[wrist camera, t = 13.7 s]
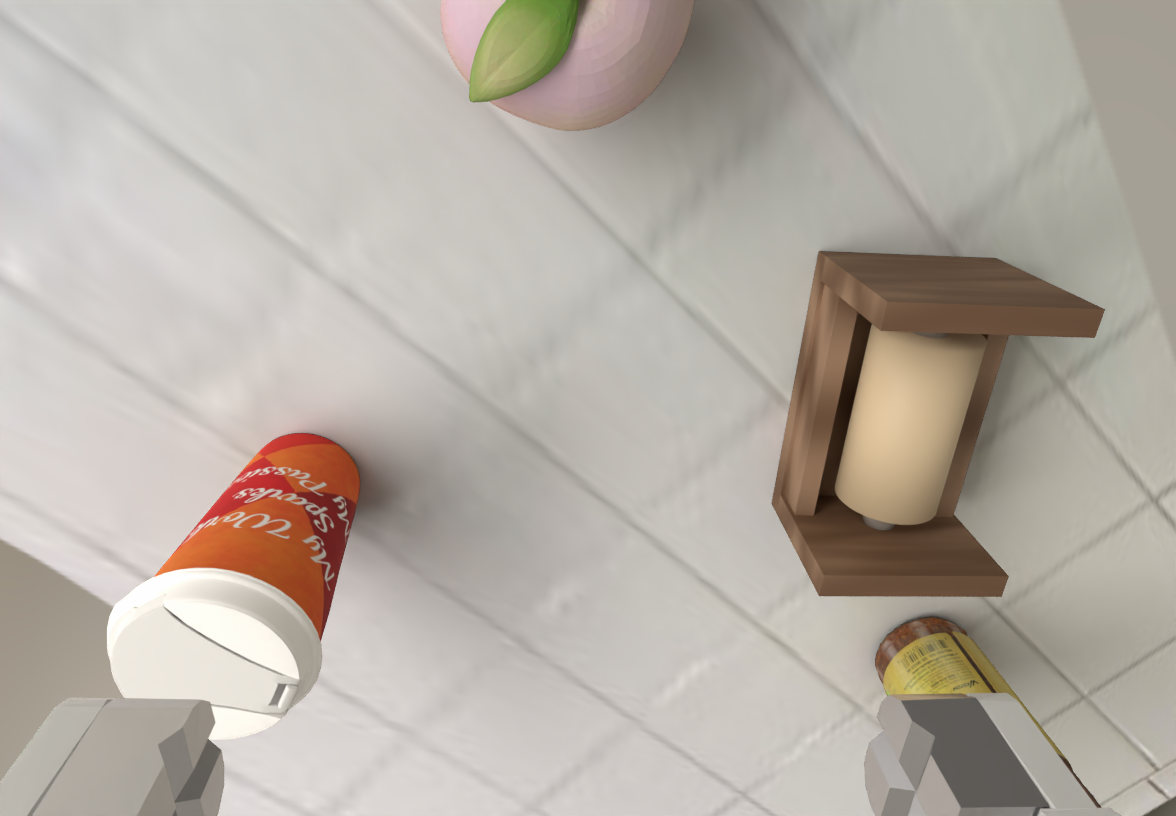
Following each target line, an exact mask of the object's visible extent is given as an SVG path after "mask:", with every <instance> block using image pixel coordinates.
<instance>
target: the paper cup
mask: <svg viewBox="0 0 1176 816" xmlns="http://www.w3.org/2000/svg"><path fill="white" fill-rule="evenodd" d="M359 491H360V476H359V472H358V469H357V466H356V464H355V463H354V461H353V459H352V458H351V457H350V455H349V454H348V453H347V452H346V451H345V450H344V449H343V448H342V447H340V446H339V445H338V444H336V443H334V442H333V441H331V440H329V439H327V438H324V437H321V436H318V435H314V434H308V433H294V434H288V435H284V436H281V437H279V438H276V439H275V440H273V441H271V442H270V443H268V444H267V445H266V446H265V447H264V448H263V449H262V450H261V451H260V452H259V453H258V454H257V455H256V456H255V457H254V458H253V459H252V460H251V461H250V462H249V464H248V465H247V466H246V467H245V468H244V469H243V471H242V472H241V473H240V474H239V475H238V476H237V478H236V479H235V480H234V481H233V482H232V484H231V485H230V486H229V487H228V488H227V490H226V491H225V492H224V493H223V494H222V495H221V497H220V498H219V499H218V500H217V501H216V503H215V504H214V505H213V506H212V507H211V509H210V510H209V511H208V512H207V513H206V515H205V516H204V517H203V518H202V519H201V521H200V522H199V523H198V524H197V525H196V527H195V528H194V529H193V530H192V532H191V533H190V534H189V535H188V536H187V538H186V539H185V540H184V541H183V542H182V544H181V545H180V546H179V547H178V548H177V550H176V551H175V552H174V553H173V554H172V556H171V557H170V558H169V559H168V561H167V562H166V563H165V564H164V565H163V567H162V568H161V569H160V570H159V571H158V573H157V574H156V575H155V576H154V577H153V578H151V579H149V580H147V581H145V582H144V583H142V584H141V585H139V586H137V587H136V588H135V589H134V590H133V591H132V592H131V593H129V594H128V595H127V596H126V597H125V598H123V599H122V600H121V601H119V602H118V603H117V604H116V605H115V606H114V608H113V611H112V613H111V615H110V617H109V623H108V627H107V641H108V642H107V651H108V655H109V658H110V661H111V671H112V674H113V678H114V681H115V682H116V684H117V686H118V688H119V690H120V692H121V693H122V695H123V696H124V698H146V699H198V700H205V701H209V702H210V703H211V707H212V711H213V715H214V718H215V722H216V723H215V725H214V727H213V729H212V731H211V734H210V736H209V738H208V739H233V738H240V737H244V736H249V735H252V734H255V733H258V732H260V731H263V730H265V729H267V728H268V727H270V726H272V725H274V724H275V723H277V722H278V721H279V720H281V719H282V718H283V717H284V716H285V715H286V714H287V712H288V710H289V709H290V708H292V707H293V706H294V705H296V704H297V703H298V702H299V701H301V700H302V699H303V698H304V697H305V696H306V695H307V694H308V693H309V691H310V690H311V689H312V687H313V685H314V684H315V682H316V681H317V678H318V675H319V672H320V669H321V663H322V648H321V638H322V635H323V632H324V628H325V625H326V622H327V618H328V615H329V611H330V607H331V603H332V599H333V595H334V591H335V587H336V583H337V578H338V574H339V570H340V566H341V563H342V559H343V555H344V551H345V548H346V544H347V540H348V537H349V533H350V529H351V525H352V521H353V518H354V514H355V510H356V505H357V501H358V496H359Z"/></svg>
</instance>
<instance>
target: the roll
mask: <svg viewBox="0 0 1176 816" xmlns="http://www.w3.org/2000/svg"><path fill="white" fill-rule="evenodd" d="M986 345H987V340H986V338H985V337H984V336H983V335H982V334H962V333H931V332H899V331H880V330H879V329H878V328H877V327H875V326H874V325H873V324H872V325H871V329H870V334H869V338H868V342H867V347H866V351H865V356H864V360H863V364H862V369H861V373H860V377H859V382H858V386H857V391H856V395H855V399H854V404H853V408H852V413H851V417H850V421H849V426H848V430H847V435H846V439H845V443H844V448H843V452H842V457H841V461H840V465H839V470H838V474H837V479H836V483H835V492H836V494H837V496H838V498H839V499H840V500H841V501H842V502H843V503H844V504H845V505H847V506H848V507H849V508H851V509H852V510H854V511H856V512H858V513H860V514H862V515H864V516H866V517H869V518H872V519H875V520H878V521H882V522H886V523H891V524H899V525H915V524H921V523H925V522H927V521H929V520H931V519H932V518H933V517H934V516H935V515H936V513H937V509H938V506H939V503H940V499H941V496H942V493H943V489H944V486H945V483H946V479H947V476H948V472H949V469H950V466H951V462H952V459H953V456H954V452H955V449H956V446H957V442H958V439H959V436H960V432H961V429H962V426H963V422H964V419H965V416H966V412H967V409H968V406H969V402H970V399H971V396H972V392H973V389H974V386H975V382H976V379H977V375H978V372H979V369H980V365H981V362H982V359H983V355H984V352H985V349H986Z"/></svg>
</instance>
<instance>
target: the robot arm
mask: <svg viewBox="0 0 1176 816" xmlns="http://www.w3.org/2000/svg"><path fill="white" fill-rule="evenodd" d="M877 718H878V720H879V722H880V724H881V727H882V729H883V732H882V733H880V734H879V735H878V736H877V737H876V738H874V739H873V740H872V741H871V742H870V743H869V745H868V749H867V753H866V758H865V762H864V768H865V786H866V790H867V794H868V797H869V801H870V805H871V807H872V809H873V812H874V814H875V816H1121V815H1120V814H1118V813H1117V812H1115V811H1114V810H1112V809H1111V808H1097V807H1096V805H1095V804H1094V803H1093V801H1092V800H1091V799H1090V797H1089V796H1088V795H1087V793H1086V792H1085V791H1084V789H1083V788H1082V787H1081V785H1080V784H1079V783H1078V781H1077V780H1076V778H1075V777H1074V776H1073V774H1072V773H1071V772H1070V770H1069V769H1068V768H1067V766H1066V765H1065V764H1064V762H1063V761H1062V760H1061V758H1060V757H1059V756H1058V754H1057V753H1056V752H1055V750H1054V749H1053V748H1052V746H1051V745H1050V743H1049V742H1048V741H1047V739H1046V738H1045V737H1044V735H1043V734H1042V733H1041V731H1040V730H1039V729H1038V727H1037V726H1036V725H1035V723H1034V722H1033V721H1032V719H1031V718H1030V717H1029V715H1028V714H1027V712H1026V711H1025V710H1024V708H1023V707H1022V706H1021V704H1020V703H1019V702H1018V701H1017V700H1016V699H1015V698H1014V697H1012V696H1011V695H1009V694H1008V693H967V694H962V693H950V694H893V695H888V696H887V697H886V698H885V699H884V700H883V701H882V702H881V706H880V709H879V712H878V715H877ZM215 723H216V722H215V718H214V715H213V711H212V707H211V703H210V702H209V701H205V700H198V699H146V698H114V699H106V698H68V699H67V700H65V701H64V702H62V703H61V704H59V705H58V706H56V707H55V708H54V709H53V710H52V712H51V713H50V714H49V716H48V717H47V719H46V720H45V721H44V723H43V724H42V725H41V727H40V728H39V730H38V731H37V732H36V734H35V735H34V737H33V738H32V739H31V741H30V742H29V743H28V745H27V746H26V747H25V749H24V750H23V751H22V753H21V754H20V756H19V757H18V758H17V760H16V761H15V763H14V764H13V765H12V767H11V768H10V769H9V771H8V772H7V773H6V775H5V776H4V778H3V779H2V780H1V782H0V816H217V815H218V812H219V807H220V803H221V798H222V793H223V788H224V762H223V756H222V751H221V750H220V749H219V748H218V747H217V746H216V745H215V744H213V743H212V742H211V741H210V740H209V739H208V738H209V736H210V734H211V731H212V729H213V727H214V725H215Z"/></svg>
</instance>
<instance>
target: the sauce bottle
mask: <svg viewBox="0 0 1176 816" xmlns="http://www.w3.org/2000/svg"><path fill="white" fill-rule="evenodd" d="M875 666H876V668H877V671H878V674H879V678H880V680H881V682H882V683H883V685H884V689H885V692H886V695H887V696H888V695H893V694H950V693H962V694H967V693H1008V694H1009V695H1011V696H1012V697H1014V698H1015V699H1016V700H1017V701H1018V702H1019V703H1020V704H1021V706H1022V707H1023V708H1024V710H1025V711H1026V712H1027V714H1028V715H1029V717H1030V718H1031V719H1032V721H1033V722H1034V723H1035V725H1036V726H1037V727H1038V729H1039V730H1040V731H1041V733H1042V734H1043V735H1044V737H1045V738H1046V739H1047V741H1048V742H1049V743H1050V745H1051V746H1052V748H1053V749H1054V750H1055V752H1056V753H1057V754H1058V756H1059V757H1060V758H1061V760H1062V761H1063V762H1064V764H1065V765H1066V766H1067V768H1068V769H1069V770H1070V772H1071V773H1072V774H1073V776H1074V777H1075V778H1076V780H1077V781H1078V783H1079V784H1080V785H1081V787H1082V788H1083V789H1084V791H1085V792H1086V793H1087V795H1088V796H1089V797H1090V799H1091V800H1092V801H1093V803H1094V804H1095V805H1096V807H1097V808H1101V806H1100V805H1099V804H1098V802H1097V801H1096V799H1095V798H1094V796H1093V795H1092V794H1091V793H1090V792H1089V791H1088V790H1087V788H1086V787H1085V786H1084V785H1083V784H1082V782H1081V781H1080V779H1079V778H1078V777H1077V776H1076V774H1075V773H1074V772H1073V770H1072V767H1071V765H1070V763H1069V762H1068V760H1067V759H1066V758H1065V757H1064V755H1063V754H1062V753H1061V752H1060V750H1059V749H1058V748H1057V746H1056V745H1055V744H1054V743H1053V741H1052V740H1051V739H1050V738H1049V736H1048V735H1047V734H1046V732H1045V731H1044V730H1043V729H1042V727H1041V726H1040V725H1039V724H1038V722H1037V721H1036V720H1035V719H1034V717H1033V716H1032V715H1031V713H1030V712H1029V711H1028V710H1027V708H1026V707H1025V706H1024V704H1023V703H1022V702H1021V701H1020V699H1019V698H1018V697H1017V695H1016V694H1015V693H1014V692H1013V690H1012V689H1011V688H1010V687H1009V685H1008V684H1007V683H1006V681H1005V680H1004V679H1003V678H1002V676H1001V675H1000V674H999V673H998V671H997V670H996V669H995V667H994V666H993V665H992V664H991V662H990V661H989V660H988V659H987V657H986V656H985V655H984V653H983V652H982V651H981V650H980V648H979V647H978V646H977V645H976V643H975V642H974V641H973V640H972V639H971V638H969V637H968V636H967V634H966V632H965V631H964V630H962V629H961V628H959V627H958V626H957V625H955V624H954V623H951V622H949V621H947V620H943V619H939V618H935V617H928V618H927V617H926V618H919V619H917V620H913V621H911V622H907V623H904V624H902V625H901V626H899V627H898V628H896V629H895V630H894V631H892V632H891V633H889V634H888V635H887V636H886V637H885V639H884V640H883V642H882V643H881V644H880V647H879V649H878V651H877V654H876V658H875Z"/></svg>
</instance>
